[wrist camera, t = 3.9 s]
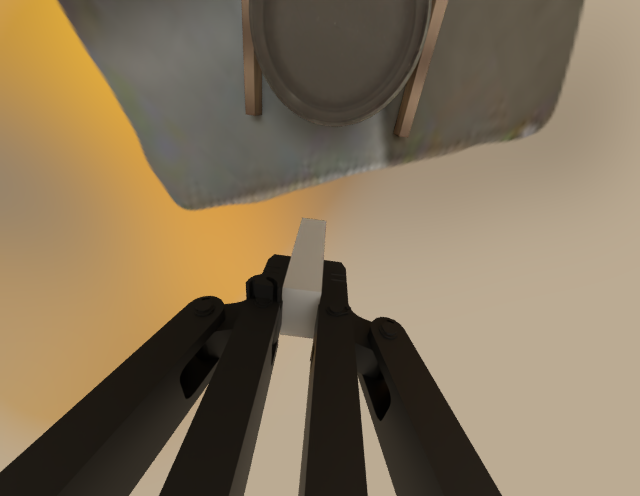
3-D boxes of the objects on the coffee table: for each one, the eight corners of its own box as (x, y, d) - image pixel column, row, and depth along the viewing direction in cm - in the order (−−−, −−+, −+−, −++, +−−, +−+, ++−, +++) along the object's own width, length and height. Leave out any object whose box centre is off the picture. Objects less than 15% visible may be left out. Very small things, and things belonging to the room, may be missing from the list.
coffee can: (294, 119, 29) (265, 131, 17) (281, -1, 23) (226, -111, 11) (381, 113, 28) (417, 121, 16) (388, -13, 22) (453, -144, 10)
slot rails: (249, -67, 21) (238, -91, 18) (448, -35, 21) (463, -54, 19) (253, 113, 28) (245, 114, 26) (401, 134, 29) (408, 137, 26)
